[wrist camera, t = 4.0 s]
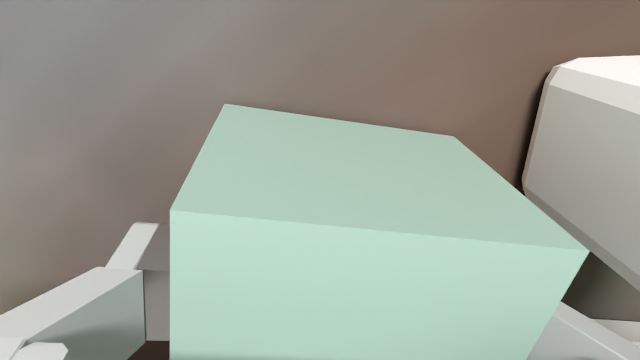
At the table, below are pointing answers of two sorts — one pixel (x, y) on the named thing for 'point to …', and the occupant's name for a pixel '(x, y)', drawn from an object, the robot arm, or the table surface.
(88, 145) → the table surface
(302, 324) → the sage brick
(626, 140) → the pepper shaker
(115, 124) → the table surface
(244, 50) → the table surface
